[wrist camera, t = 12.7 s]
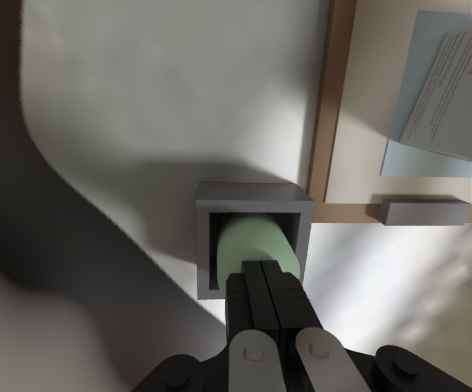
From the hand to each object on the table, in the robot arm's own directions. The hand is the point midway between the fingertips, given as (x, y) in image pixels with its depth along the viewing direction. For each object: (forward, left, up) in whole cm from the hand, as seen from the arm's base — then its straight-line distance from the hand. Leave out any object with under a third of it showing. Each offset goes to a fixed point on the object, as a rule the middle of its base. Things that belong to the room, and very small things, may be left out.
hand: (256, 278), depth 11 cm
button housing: (0, 0, -5) cm, 5 cm away
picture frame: (-11, -7, -5) cm, 14 cm away
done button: (0, 0, -4) cm, 4 cm away
